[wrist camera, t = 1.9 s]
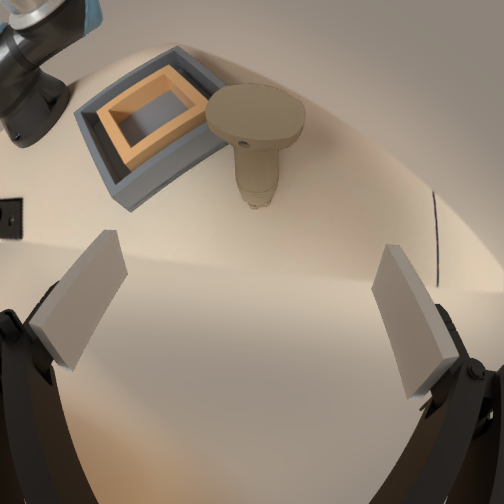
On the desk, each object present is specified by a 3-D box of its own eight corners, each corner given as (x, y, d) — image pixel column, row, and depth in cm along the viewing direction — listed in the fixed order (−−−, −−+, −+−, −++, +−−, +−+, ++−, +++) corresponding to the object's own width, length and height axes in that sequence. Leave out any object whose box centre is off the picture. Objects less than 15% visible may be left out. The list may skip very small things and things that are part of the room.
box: (88, 130, 34) (73, 113, 29) (184, 67, 36) (177, 45, 31) (130, 212, 31) (111, 197, 26) (251, 130, 32) (249, 105, 27)
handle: (237, 172, 31) (220, 78, 17) (290, 186, 31) (311, 96, 16) (223, 209, 30) (194, 128, 16) (279, 224, 30) (296, 150, 15)
